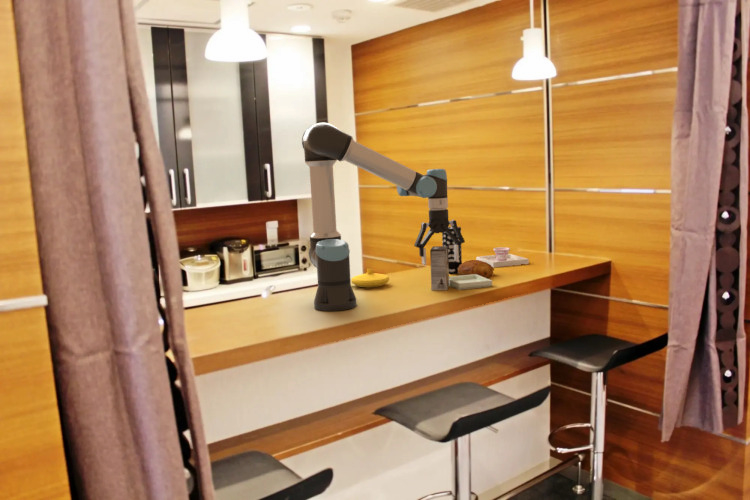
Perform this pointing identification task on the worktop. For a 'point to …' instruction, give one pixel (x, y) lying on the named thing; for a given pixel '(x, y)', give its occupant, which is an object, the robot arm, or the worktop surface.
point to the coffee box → (439, 268)
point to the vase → (370, 279)
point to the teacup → (501, 254)
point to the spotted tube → (452, 251)
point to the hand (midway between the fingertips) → (440, 263)
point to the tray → (469, 282)
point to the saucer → (516, 261)
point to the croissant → (476, 268)
